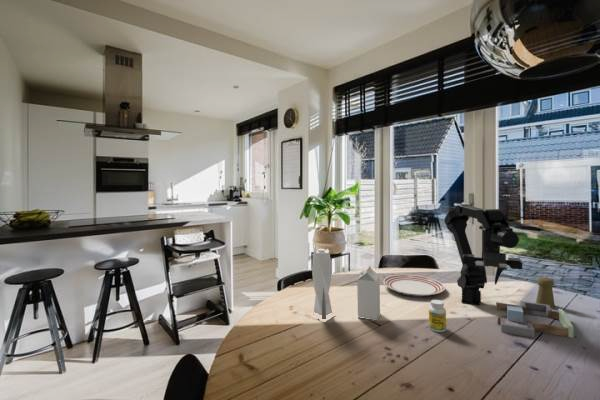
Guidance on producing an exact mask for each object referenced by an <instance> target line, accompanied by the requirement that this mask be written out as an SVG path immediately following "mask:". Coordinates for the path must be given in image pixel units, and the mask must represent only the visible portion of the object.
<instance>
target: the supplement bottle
mask: <svg viewBox="0 0 600 400" xmlns="http://www.w3.org/2000/svg"><path fill="white" fill-rule="evenodd" d="M428 323H429V325H428V327H429V329H430V330H431V331H433V332H436V333H444V332H446V330H447V310H446V308H444V302H443V300H439V299H432V300H430V306H429V308H428Z"/></svg>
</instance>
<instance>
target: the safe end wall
mask: <svg viewBox="0 0 600 400" xmlns="http://www.w3.org/2000/svg"><path fill="white" fill-rule="evenodd" d="M558 312H559V319H558V320H559V322H560V325H561V327H566V328H568V329H569V332H568V337H567V338H572V339H573V338H574V329H575V328H574V326H573V324H572V322H571V321H570V319H569V317H568V316H567V314H566V312H565V311H564V309H562V308H558Z"/></svg>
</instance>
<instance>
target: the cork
mask: <svg viewBox="0 0 600 400" xmlns="http://www.w3.org/2000/svg"><path fill="white" fill-rule="evenodd" d="M537 285H538V289H537V294H536V295H537V296H536V301H535V303H539V304H546V305H549V306H550V308H551V309H555V308H556V305H555V297H554V292H553V287H554V285H555V282H554V280H553V279H552V278H549V277H539V278H537Z"/></svg>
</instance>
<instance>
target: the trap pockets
mask: <svg viewBox="0 0 600 400" xmlns="http://www.w3.org/2000/svg"><path fill="white" fill-rule="evenodd" d="M519 304H520V305H519V306H522V309H523V311H524V310H525V311H524V312H523V315H531V316H535V317H536V316H537V317H542V318H548V319H552V318H551V316H550V318H549V317H548V315H549V314H548V313H549V312H548V310H552V308H550V306H549V305H546V304H539V303H536V302H530V301H522V300H520V303H519ZM523 306H525V308H526V309H524V307H523ZM552 311H553V310H552ZM552 311H551V312H552ZM525 313H526V314H525ZM550 315H551V314H550ZM552 315H553V314H552ZM527 321H528V328H527V326H519V325H514V324H510V323H509V324H508V323H506V320H505V319H504V318H501V325H500V330H501V333H506V334H510V335H512V334H513V335H517V336H522V337H527V338H533V339H534V338H536V337H535V334H536V331H535V330H534V327H533V324H532V322H533V321H529V320H527ZM529 322H530V323H529Z"/></svg>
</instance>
